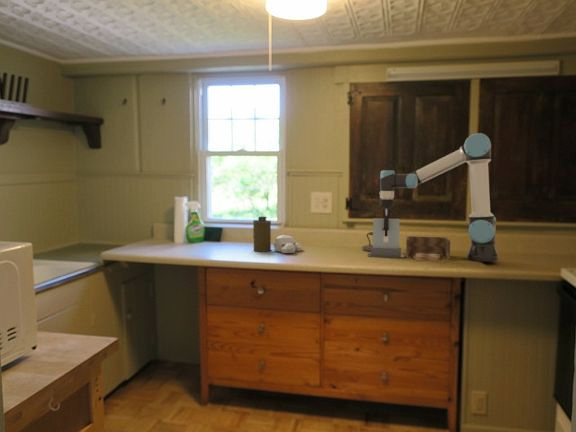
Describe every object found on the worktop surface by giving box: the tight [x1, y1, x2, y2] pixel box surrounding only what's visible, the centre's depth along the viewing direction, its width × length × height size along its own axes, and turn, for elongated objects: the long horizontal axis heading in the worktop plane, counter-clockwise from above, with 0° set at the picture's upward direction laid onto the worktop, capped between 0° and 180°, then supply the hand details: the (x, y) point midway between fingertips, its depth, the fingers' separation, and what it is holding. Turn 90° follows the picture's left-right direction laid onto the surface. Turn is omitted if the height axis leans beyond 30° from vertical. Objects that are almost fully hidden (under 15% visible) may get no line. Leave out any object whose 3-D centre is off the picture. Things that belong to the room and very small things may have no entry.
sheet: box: [372, 218, 400, 249], centre depth 253 cm, size 14×2×18 cm, turn 77°
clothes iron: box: [361, 231, 373, 252], centre depth 268 cm, size 14×10×12 cm
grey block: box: [367, 247, 405, 259], centre depth 254 cm, size 19×8×5 cm, turn 77°
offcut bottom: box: [413, 259, 443, 262], centre depth 244 cm, size 14×5×1 cm, turn 74°
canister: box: [252, 216, 272, 253], centre depth 274 cm, size 11×10×20 cm
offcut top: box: [416, 253, 440, 258], centre depth 244 cm, size 12×4×1 cm, turn 71°
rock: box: [273, 234, 303, 254], centre depth 272 cm, size 18×20×10 cm
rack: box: [405, 235, 451, 261], centre depth 253 cm, size 22×15×10 cm
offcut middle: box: [413, 255, 440, 261], centre depth 244 cm, size 13×5×1 cm, turn 72°
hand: (385, 241), depth 254 cm, fingers closed on sheet, 2 cm apart
